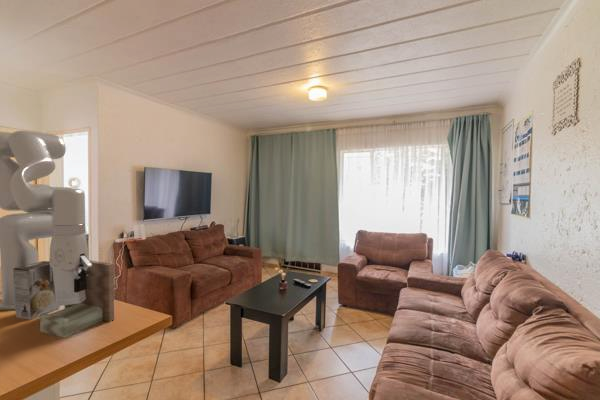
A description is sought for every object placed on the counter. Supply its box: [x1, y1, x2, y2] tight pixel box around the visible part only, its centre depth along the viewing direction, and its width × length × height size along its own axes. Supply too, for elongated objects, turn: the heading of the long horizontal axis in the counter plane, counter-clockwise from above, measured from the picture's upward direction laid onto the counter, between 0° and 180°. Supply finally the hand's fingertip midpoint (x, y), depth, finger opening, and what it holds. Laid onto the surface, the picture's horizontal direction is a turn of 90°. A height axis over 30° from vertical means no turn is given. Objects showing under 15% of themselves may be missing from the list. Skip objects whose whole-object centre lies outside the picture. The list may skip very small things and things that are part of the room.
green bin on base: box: [39, 259, 115, 338], centre depth 88 cm, size 20×12×18 cm, turn 72°
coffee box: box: [13, 260, 61, 321], centre depth 94 cm, size 9×6×16 cm
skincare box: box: [52, 265, 86, 307], centre depth 85 cm, size 6×4×12 cm
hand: (70, 288), depth 86 cm, fingers closed on skincare box, 7 cm apart
